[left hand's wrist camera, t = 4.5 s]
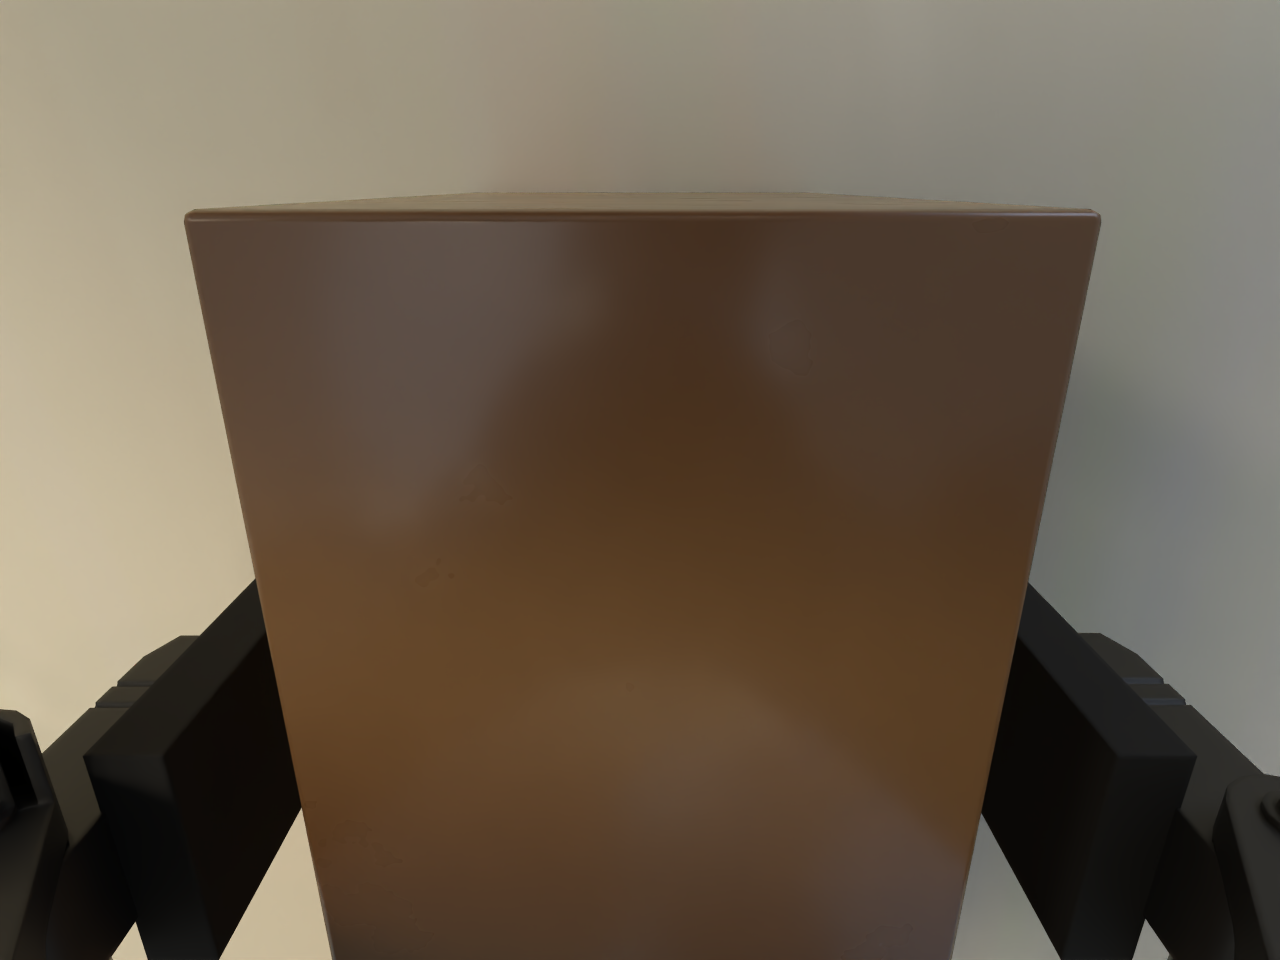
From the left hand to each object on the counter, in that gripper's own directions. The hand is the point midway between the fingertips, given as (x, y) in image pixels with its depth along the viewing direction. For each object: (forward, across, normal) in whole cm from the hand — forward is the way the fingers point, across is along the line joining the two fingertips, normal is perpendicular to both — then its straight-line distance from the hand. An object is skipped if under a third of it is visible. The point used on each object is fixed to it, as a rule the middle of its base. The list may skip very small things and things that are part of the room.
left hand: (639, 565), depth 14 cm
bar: (+1, 0, -21) cm, 21 cm away
